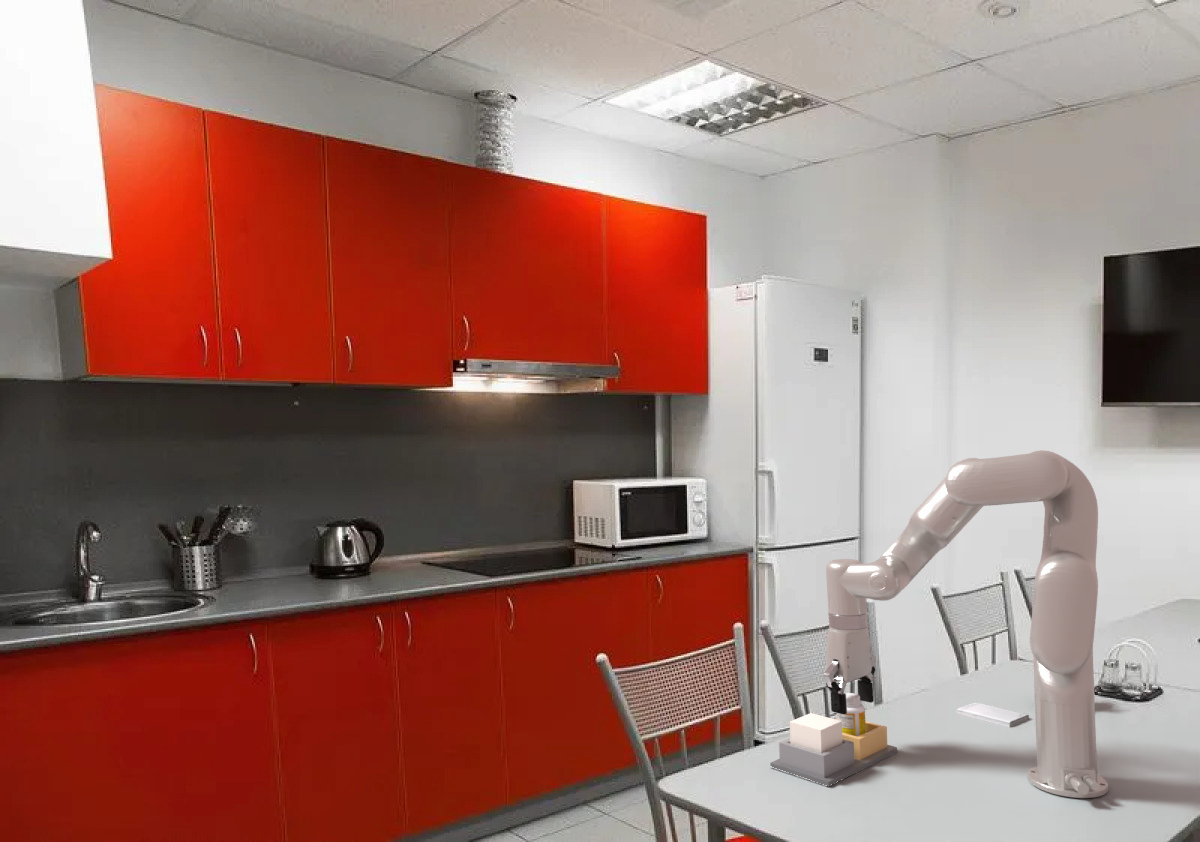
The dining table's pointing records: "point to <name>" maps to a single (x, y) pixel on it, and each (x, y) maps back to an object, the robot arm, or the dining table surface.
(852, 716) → the supplement bottle
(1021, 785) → the dining table surface
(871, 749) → the block sorting tray
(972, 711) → the hard drive
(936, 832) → the dining table surface
